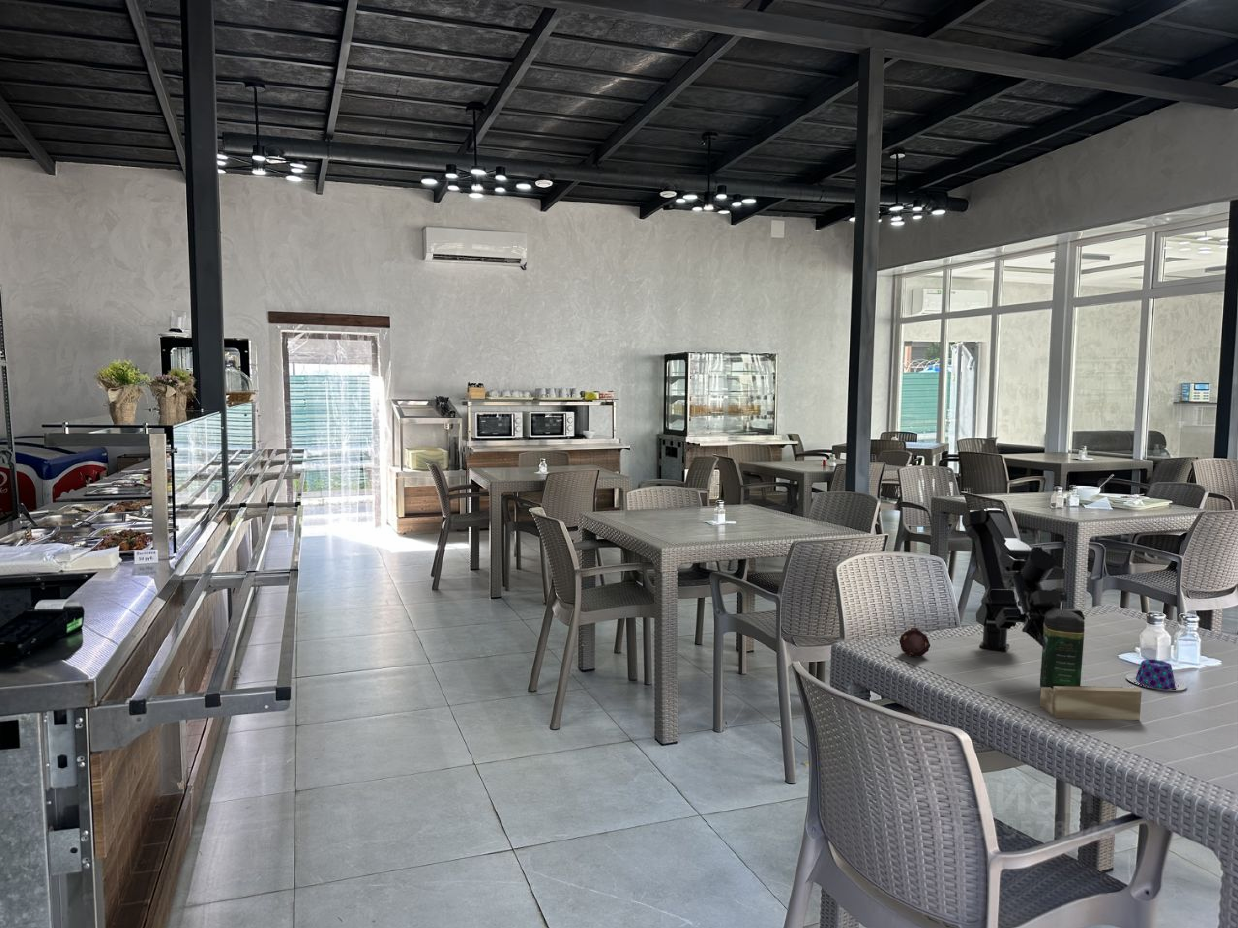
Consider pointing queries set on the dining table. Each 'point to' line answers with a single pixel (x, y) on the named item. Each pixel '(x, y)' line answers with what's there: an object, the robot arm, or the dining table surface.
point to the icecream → (914, 642)
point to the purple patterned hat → (1156, 675)
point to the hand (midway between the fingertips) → (1050, 651)
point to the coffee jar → (1062, 649)
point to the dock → (1092, 702)
